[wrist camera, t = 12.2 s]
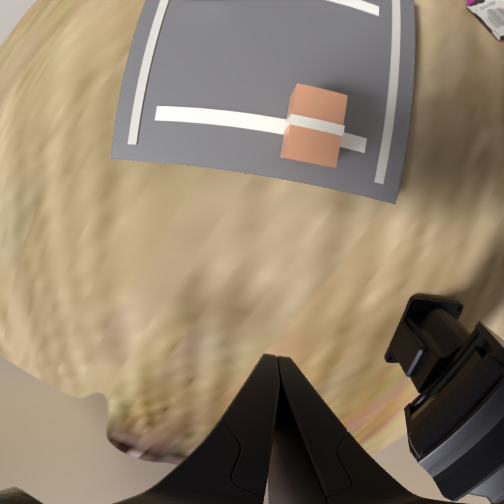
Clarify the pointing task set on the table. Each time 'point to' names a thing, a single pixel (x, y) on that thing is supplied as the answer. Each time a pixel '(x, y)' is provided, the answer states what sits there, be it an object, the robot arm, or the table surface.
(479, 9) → the candy bar box
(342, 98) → the block
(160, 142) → the console
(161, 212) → the table surface
